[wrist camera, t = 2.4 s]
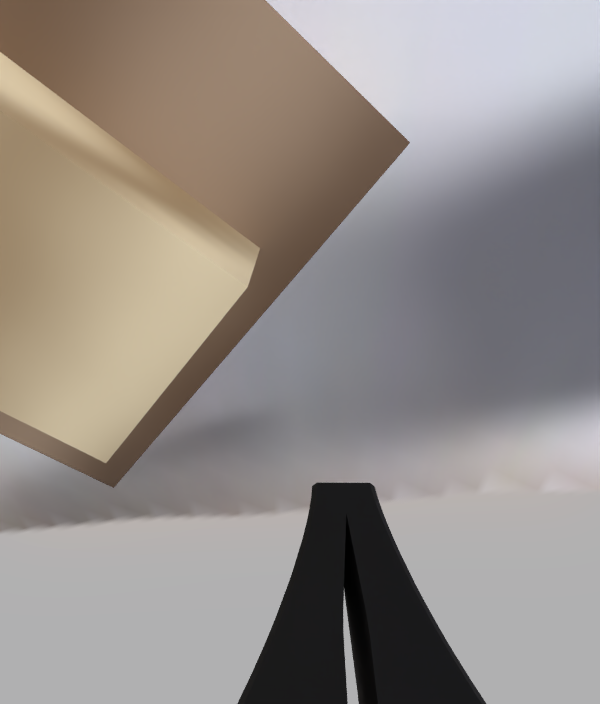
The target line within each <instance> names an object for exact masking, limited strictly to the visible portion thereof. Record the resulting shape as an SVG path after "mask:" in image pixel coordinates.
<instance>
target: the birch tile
mask: <svg viewBox="0 0 600 704" xmlns="http://www.w3.org/2000/svg"><path fill="white" fill-rule="evenodd" d="M259 250H260V248H259V247H258V246H256V245H255V244H254V243H252V242H251V241H250V240H248V239H247V238H246V237H244V236H243V235H242V234H240V233H239V232H238V231H236V230H235V229H234V228H233V227H231V226H230V225H229V224H227V223H226V222H225V221H223V220H222V219H221V218H219V217H218V216H217V215H215V214H214V213H213V212H211V211H210V210H209V209H207V208H206V207H205V206H203V205H202V204H201V203H199V202H198V201H197V200H195V199H194V198H193V197H192V196H190V195H189V194H188V193H186V192H185V191H184V190H182V189H181V188H180V187H178V186H177V185H176V184H174V183H173V182H172V181H170V180H169V179H168V178H166V177H165V176H164V175H162V174H161V173H160V172H158V171H157V170H156V169H154V168H153V167H152V166H150V165H149V164H148V163H147V162H145V161H144V160H143V159H141V158H140V157H139V156H137V155H136V154H135V153H133V152H132V151H131V150H129V149H128V148H127V147H125V146H124V145H123V144H121V143H120V142H119V141H117V140H116V139H115V138H113V137H112V136H111V135H109V134H108V133H107V132H105V131H104V130H103V129H102V128H100V127H99V126H98V125H96V124H95V123H94V122H92V121H91V120H90V119H88V118H87V117H86V116H84V115H83V114H82V113H80V112H79V111H78V110H76V109H75V108H74V107H72V106H71V105H70V104H68V103H67V102H66V101H64V100H63V99H62V98H60V97H59V96H58V95H57V94H55V93H54V92H53V91H51V90H50V89H49V88H47V87H46V86H45V85H43V84H42V83H41V82H39V81H38V80H37V79H35V78H34V77H33V76H31V75H30V74H29V73H27V72H26V71H25V70H23V69H22V68H21V67H19V66H18V65H17V64H16V63H14V62H13V61H12V60H10V59H9V58H8V57H6V56H5V55H4V54H2V53H1V52H0V411H1V412H3V413H5V414H7V415H9V416H11V417H13V418H15V419H17V420H19V421H21V422H23V423H26V424H28V425H30V426H32V427H34V428H36V429H38V430H40V431H42V432H44V433H46V434H48V435H50V436H52V437H54V438H56V439H58V440H60V441H62V442H64V443H66V444H68V445H70V446H72V447H74V448H76V449H78V450H80V451H82V452H84V453H86V454H88V455H90V456H92V457H94V458H96V459H98V460H100V461H102V462H104V463H107V461H108V460H109V459H110V458H111V456H112V455H113V454H114V453H115V451H116V450H117V449H118V448H119V447H120V445H121V444H122V443H123V442H124V440H125V439H126V438H127V437H128V435H129V434H130V433H131V432H132V430H133V429H134V428H135V427H136V425H137V424H138V423H139V422H140V420H141V419H142V418H143V417H144V415H145V414H146V413H147V412H148V410H149V409H150V408H151V407H152V405H153V404H154V403H155V402H156V400H157V399H158V398H159V397H160V396H161V394H162V393H163V392H164V391H165V389H166V388H167V387H168V386H169V384H170V383H171V382H172V381H173V379H174V378H175V377H176V376H177V374H178V373H179V372H180V371H181V369H182V368H183V367H184V366H185V364H186V363H187V362H188V361H189V359H190V358H191V357H192V356H193V354H194V353H195V352H196V351H197V349H198V348H199V347H200V346H201V345H202V343H203V342H204V341H205V340H206V338H207V337H208V336H209V335H210V333H211V332H212V331H213V330H214V328H215V327H216V326H217V325H218V323H219V322H220V321H221V320H222V318H223V317H224V316H225V315H226V313H227V312H228V311H229V310H230V308H231V307H232V306H233V305H234V303H235V302H236V301H237V300H238V298H239V297H240V296H241V295H242V294H243V292H244V291H245V290H246V289H247V287H248V285H249V282H250V278H251V275H252V272H253V269H254V266H255V263H256V260H257V256H258V253H259Z"/></svg>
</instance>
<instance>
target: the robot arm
mask: <svg viewBox="0 0 600 704" xmlns="http://www.w3.org/2000/svg"><path fill="white" fill-rule="evenodd" d="M344 591H345V599H346V607H347V614H348V622H349V630H350V637H351V644H352V653H353V660H354V668H355V676H356V683H357V690H358V701H359V704H486V703H485V701H484V700H483V698H482V697H481V695H480V693H479V692H478V690H477V689H476V687H475V686H474V684H473V683H472V681H471V680H470V678H469V676H468V675H467V673H466V672H465V670H464V669H463V667H462V665H461V664H460V662H459V660H458V659H457V657H456V656H455V654H454V652H453V651H452V649H451V647H450V646H449V644H448V642H447V641H446V639H445V637H444V635H443V634H442V632H441V630H440V629H439V627H438V625H437V623H436V622H435V620H434V618H433V616H432V614H431V612H430V611H429V609H428V607H427V605H426V603H425V602H424V600H423V598H422V596H421V594H420V592H419V591H418V588H417V586H416V585H415V583H414V581H413V578H412V576H411V575H410V573H409V570H408V568H407V566H406V564H405V562H404V560H403V558H402V556H401V554H400V552H399V550H398V547H397V545H396V543H395V541H394V539H393V536H392V534H391V531H390V529H389V527H388V524H387V522H386V519H385V517H384V514H383V512H382V509H381V506H380V503H379V500H378V497H377V494H376V491H375V487H374V486H373V485H372V484H371V483H316V484H315V485H313V486H312V496H311V503H310V509H309V515H308V519H307V524H306V528H305V532H304V535H303V540H302V543H301V546H300V549H299V553H298V556H297V559H296V562H295V566H294V569H293V572H292V575H291V578H290V581H289V584H288V586H287V589H286V592H285V594H284V597H283V600H282V602H281V605H280V608H279V610H278V613H277V616H276V618H275V621H274V624H273V626H272V628H271V631H270V633H269V636H268V638H267V640H266V643H265V645H264V647H263V650H262V652H261V654H260V656H259V659H258V661H257V663H256V665H255V668H254V670H253V672H252V674H251V676H250V679H249V681H248V683H247V685H246V687H245V689H244V691H243V693H242V695H241V697H240V699H239V702H238V704H347V688H346V672H345V656H344V638H343V596H344Z"/></svg>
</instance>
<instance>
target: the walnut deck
mask: <svg viewBox="0 0 600 704" xmlns="http://www.w3.org/2000/svg"><path fill="white" fill-rule="evenodd" d="M0 52H1V53H2V54H4V55H5V56H6V57H8V58H9V59H10V60H12V61H13V62H14V63H16V64H17V65H18V66H19V67H21V68H22V69H23V70H25V71H26V72H27V73H29V74H30V75H31V76H33V77H34V78H35V79H37V80H38V81H39V82H41V83H42V84H43V85H45V86H46V87H47V88H49V89H50V90H51V91H53V92H54V93H55V94H57V95H58V96H59V97H60V98H62V99H63V100H64V101H66V102H67V103H68V104H70V105H71V106H72V107H74V108H75V109H76V110H78V111H79V112H80V113H82V114H83V115H84V116H86V117H87V118H88V119H90V120H91V121H92V122H94V123H95V124H96V125H98V126H99V127H100V128H102V129H103V130H104V131H105V132H107V133H108V134H109V135H111V136H112V137H113V138H115V139H116V140H117V141H119V142H120V143H121V144H123V145H124V146H125V147H127V148H128V149H129V150H131V151H132V152H133V153H135V154H136V155H137V156H139V157H140V158H141V159H143V160H144V161H145V162H147V163H148V164H149V165H150V166H152V167H153V168H154V169H156V170H157V171H158V172H160V173H161V174H162V175H164V176H165V177H166V178H168V179H169V180H170V181H172V182H173V183H174V184H176V185H177V186H178V187H180V188H181V189H182V190H184V191H185V192H186V193H188V194H189V195H190V196H192V197H193V198H194V199H195V200H197V201H198V202H199V203H201V204H202V205H203V206H205V207H206V208H207V209H209V210H210V211H211V212H213V213H214V214H215V215H217V216H218V217H219V218H221V219H222V220H223V221H225V222H226V223H227V224H229V225H230V226H231V227H233V228H234V229H235V230H236V231H238V232H239V233H240V234H242V235H243V236H244V237H246V238H247V239H248V240H250V241H251V242H252V243H254V244H255V245H256V246H258V247H259V248H260V250H259V253H258V256H257V260H256V263H255V266H254V269H253V272H252V275H251V278H250V282H249V285H248V287H247V289H246V290H245V291H244V292H243V294H242V295H241V296H240V297H239V298H238V300H237V301H236V302H235V303H234V305H233V306H232V307H231V308H230V310H229V311H228V312H227V313H226V315H225V316H224V317H223V318H222V320H221V321H220V322H219V323H218V325H217V326H216V327H215V328H214V330H213V331H212V332H211V333H210V335H209V336H208V337H207V338H206V340H205V341H204V342H203V343H202V345H201V346H200V347H199V348H198V349H197V351H196V352H195V353H194V354H193V356H192V357H191V358H190V359H189V361H188V362H187V363H186V364H185V366H184V367H183V368H182V369H181V371H180V372H179V373H178V374H177V376H176V377H175V378H174V379H173V381H172V382H171V383H170V384H169V386H168V387H167V388H166V389H165V391H164V392H163V393H162V394H161V396H160V397H159V398H158V399H157V400H156V402H155V403H154V404H153V405H152V407H151V408H150V409H149V410H148V412H147V413H146V414H145V415H144V417H143V418H142V419H141V420H140V422H139V423H138V424H137V425H136V427H135V428H134V429H133V430H132V432H131V433H130V434H129V435H128V437H127V438H126V439H125V440H124V442H123V443H122V444H121V445H120V447H119V448H118V449H117V450H116V451H115V453H114V454H113V455H112V456H111V458H110V459H109V460H108V461H107V463H104V462H102V461H100V460H98V459H96V458H94V457H92V456H90V455H88V454H86V453H84V452H82V451H80V450H78V449H76V448H74V447H72V446H70V445H68V444H66V443H64V442H62V441H60V440H58V439H56V438H54V437H52V436H50V435H48V434H46V433H44V432H42V431H40V430H38V429H36V428H34V427H32V426H30V425H28V424H26V423H23V422H21V421H19V420H17V419H15V418H13V417H11V416H9V415H7V414H5V413H3V412H1V411H0V434H2V435H4V436H6V437H8V438H10V439H13V440H15V441H17V442H19V443H21V444H23V445H25V446H27V447H29V448H31V449H34V450H36V451H38V452H40V453H42V454H44V455H46V456H48V457H50V458H52V459H54V460H57V461H59V462H61V463H63V464H65V465H67V466H69V467H71V468H73V469H75V470H77V471H80V472H82V473H84V474H86V475H88V476H90V477H92V478H94V479H96V480H98V481H101V482H103V483H105V484H107V485H109V486H111V487H113V488H114V487H115V486H116V484H117V483H118V482H119V481H120V480H121V479H122V477H123V476H124V475H125V474H126V473H127V472H128V470H129V469H130V468H131V467H132V466H133V465H134V463H135V462H136V461H137V460H138V459H139V458H140V456H141V455H142V454H143V453H144V452H145V451H146V449H147V448H148V447H149V446H150V445H151V444H152V442H153V441H154V440H155V439H156V438H157V437H158V435H159V434H160V433H161V432H162V431H163V430H164V429H165V427H166V426H167V425H168V424H169V423H170V422H171V420H172V419H173V418H174V417H175V416H176V415H177V413H178V412H179V411H180V410H181V409H182V408H183V406H184V405H185V404H186V403H187V402H188V401H189V399H190V398H191V397H192V396H193V395H194V394H195V392H196V391H197V390H198V389H199V388H200V387H201V385H202V384H203V383H204V382H205V381H206V380H207V378H208V377H209V376H210V375H211V374H212V373H213V371H214V370H215V369H216V368H217V367H218V366H219V364H220V363H221V362H222V361H223V360H224V359H225V357H226V356H227V355H228V354H229V353H230V352H231V351H232V349H233V348H234V347H235V346H236V345H237V344H238V342H239V341H240V340H241V339H242V338H243V337H244V335H245V334H246V333H247V332H248V331H249V330H250V328H251V327H252V326H253V325H254V324H255V323H256V321H257V320H258V319H259V318H260V317H261V316H262V314H263V313H264V312H265V311H266V310H267V309H268V307H269V306H270V305H271V304H272V303H273V302H274V300H275V299H276V298H277V297H278V296H279V295H280V293H281V292H282V291H283V290H284V289H285V288H286V286H287V285H288V284H289V283H290V282H291V281H292V279H293V278H294V277H295V276H296V275H297V274H298V273H299V271H300V270H301V269H302V268H303V267H304V266H305V264H306V263H307V262H308V261H309V260H310V259H311V257H312V256H313V255H314V254H315V253H316V252H317V250H318V249H319V248H320V247H321V246H322V245H323V243H324V242H325V241H326V240H327V239H328V238H329V236H330V235H331V234H332V233H333V232H334V231H335V229H336V228H337V227H338V226H339V225H340V224H341V222H342V221H343V220H344V219H345V218H346V217H347V215H348V214H349V213H350V212H351V211H352V210H353V208H354V207H355V206H356V205H357V204H358V203H359V201H360V200H361V199H362V198H363V197H364V196H365V195H366V193H367V192H368V191H369V190H370V189H371V188H372V186H373V185H374V184H375V183H376V182H377V181H378V179H379V178H380V177H381V176H382V175H383V174H384V172H385V171H386V170H387V169H388V168H389V167H390V165H391V164H392V163H393V162H394V161H395V160H396V158H397V157H398V156H399V155H400V154H401V153H402V151H403V150H404V149H405V148H406V147H407V146H408V144H409V143H410V142H409V141H408V140H407V139H406V138H405V137H404V136H403V135H402V134H401V133H400V132H399V131H398V130H397V129H396V128H395V127H394V126H392V125H391V124H390V123H389V122H388V121H387V120H386V119H385V118H384V117H383V116H382V115H381V114H380V113H379V112H378V111H377V110H376V109H375V108H374V107H373V106H372V105H371V104H370V103H369V102H368V101H367V100H366V99H365V98H364V97H363V96H362V95H361V94H360V93H359V92H358V91H357V90H356V89H355V88H354V87H353V86H352V85H351V84H350V83H349V82H348V81H347V80H346V79H345V78H344V77H343V76H342V75H341V74H340V73H339V72H338V71H337V70H336V69H335V68H334V67H333V66H331V65H330V64H329V63H328V62H327V61H326V60H325V59H324V58H323V57H322V56H321V55H320V54H319V53H318V52H317V51H316V50H315V49H314V48H313V47H312V46H311V45H310V44H309V43H308V42H307V41H306V40H305V39H304V38H303V37H302V36H301V35H300V34H299V33H298V32H297V31H296V30H295V29H294V28H293V27H292V26H291V25H290V24H289V23H288V22H287V21H286V20H285V19H284V18H283V17H282V16H281V15H280V14H279V13H278V12H277V11H276V10H275V9H274V8H273V7H272V6H270V5H269V4H268V3H267V2H266V1H265V0H0Z"/></svg>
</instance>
